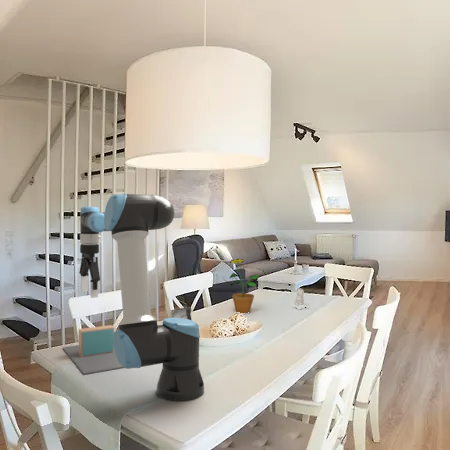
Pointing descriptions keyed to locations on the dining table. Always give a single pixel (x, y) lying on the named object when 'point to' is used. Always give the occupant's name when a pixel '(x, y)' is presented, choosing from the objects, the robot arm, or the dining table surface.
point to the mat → (93, 361)
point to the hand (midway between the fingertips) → (89, 294)
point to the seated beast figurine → (299, 297)
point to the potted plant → (243, 299)
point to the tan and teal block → (96, 340)
